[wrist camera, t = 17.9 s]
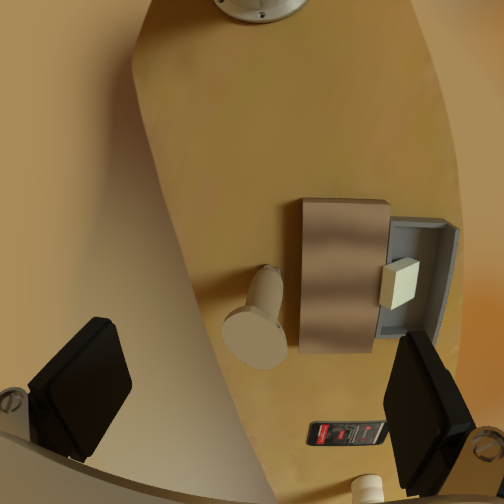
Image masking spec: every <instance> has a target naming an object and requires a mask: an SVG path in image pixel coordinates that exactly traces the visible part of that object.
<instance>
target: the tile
mask: <svg viewBox="0 0 504 504" xmlns="http://www.w3.org/2000/svg"><path fill="white" fill-rule="evenodd" d="M419 263H420V261H417V260H414V259H412V258H409V257H406V258H403V259H401V260H398V261H396V262H393V263H391V264H388V265H386V266H383V275H382V284H381V292H380V300H379V304H380V305H382V306H384V307H386V308H388V309H390V310H392V309H394V308H396V307H398V306H400V305H401V304H403V303H405V302H407V301H409V300H411V299H412V298H414V296H415V290H416V284H417V277H418V270H419Z"/></svg>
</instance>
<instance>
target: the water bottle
mask: <svg viewBox="0 0 504 504" xmlns="http://www.w3.org/2000/svg"><path fill="white" fill-rule="evenodd" d="M351 491H352V504H369V503H380V502H384V495H383V491H382V480H381V477H380V476H378V475H374V474H369V475H363V476H360V477H358V478H356V479H355V480H354V481H353V482H352V483H351Z"/></svg>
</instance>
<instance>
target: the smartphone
mask: <svg viewBox="0 0 504 504" xmlns="http://www.w3.org/2000/svg"><path fill="white" fill-rule="evenodd" d="M388 432H389V428H388V424H387V420H383V421H349V422H333V421H314V422H312V423H311V427H310V432H309V436H308V441H307V444H308V445H309V446H364V445H380V444H382V443H383V442H384V440H385V438H386V436H387V434H388Z"/></svg>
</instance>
